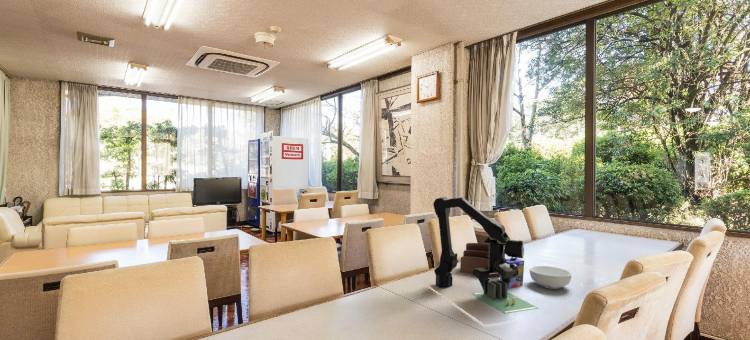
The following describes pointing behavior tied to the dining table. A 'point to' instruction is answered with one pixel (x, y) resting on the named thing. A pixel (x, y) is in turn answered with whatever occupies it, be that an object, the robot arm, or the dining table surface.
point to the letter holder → (476, 258)
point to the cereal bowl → (550, 276)
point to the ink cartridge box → (519, 278)
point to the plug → (496, 289)
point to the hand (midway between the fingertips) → (495, 292)
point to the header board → (506, 303)
